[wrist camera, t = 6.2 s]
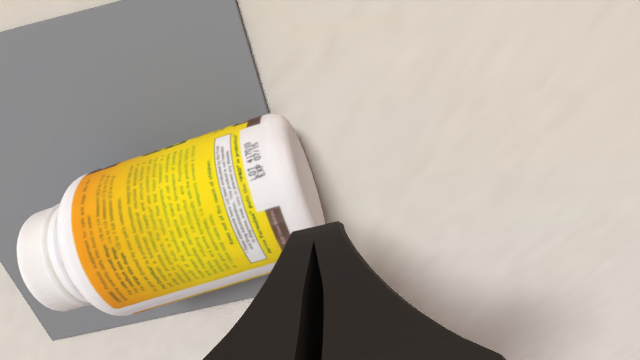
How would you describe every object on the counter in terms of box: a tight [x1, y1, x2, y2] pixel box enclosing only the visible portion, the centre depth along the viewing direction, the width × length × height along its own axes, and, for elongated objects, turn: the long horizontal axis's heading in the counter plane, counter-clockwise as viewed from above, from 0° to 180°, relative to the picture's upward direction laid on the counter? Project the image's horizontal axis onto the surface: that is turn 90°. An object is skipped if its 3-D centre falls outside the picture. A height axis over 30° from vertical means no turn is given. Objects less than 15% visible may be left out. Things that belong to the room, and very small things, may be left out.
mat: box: [0, 0, 269, 341], centre depth 20 cm, size 14×14×1 cm
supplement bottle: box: [17, 113, 325, 316], centre depth 17 cm, size 6×6×10 cm
